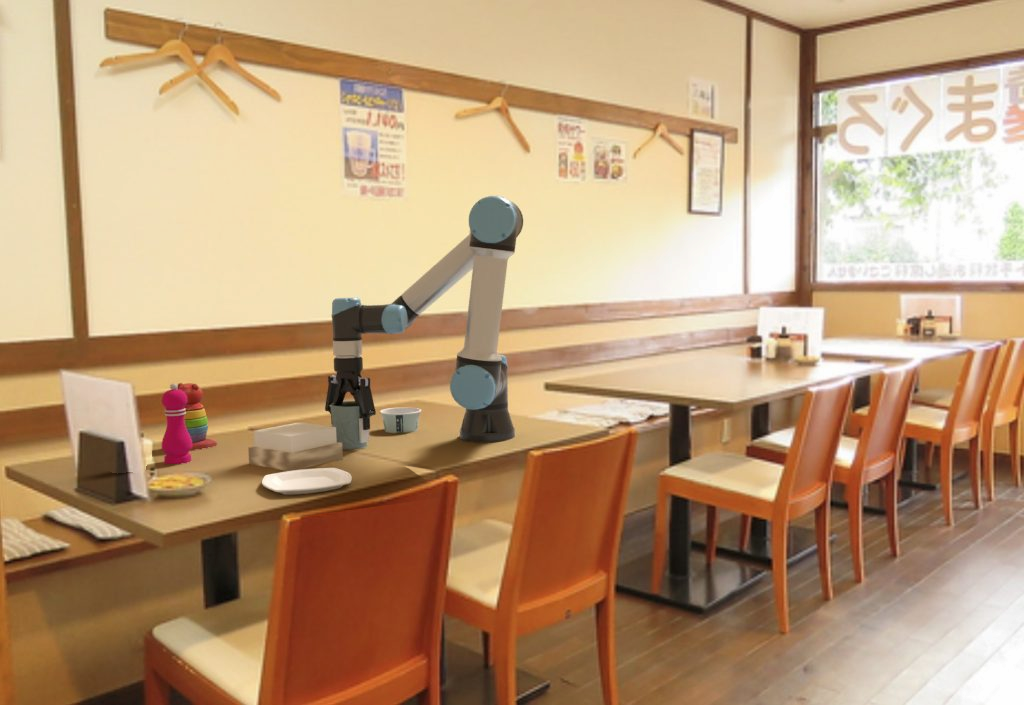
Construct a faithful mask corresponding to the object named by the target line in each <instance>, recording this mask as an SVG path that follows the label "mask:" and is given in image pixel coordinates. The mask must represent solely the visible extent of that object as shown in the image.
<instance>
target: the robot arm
mask: <svg viewBox="0 0 1024 705" xmlns="http://www.w3.org/2000/svg"><path fill="white" fill-rule="evenodd" d="M523 226H524V217H523V213H522V211H521V209H520V208H519V206H518V205H517V204H516V203H514V202H513V201H511V200H509V199H508V198H506V197H504V196H499V195H488V196H485V197H481V199H479V200H478V201H475V203H474V204H473V206H472V207H471V209H470V211H469V214H468V227H469V234H468V235H467V236H466V237H465V238H464V239H463V240H461V241H460V242H459V243H458V244H457V245H455V247H453V248H452V249H451V250H450V251H448V252H447V253H446V255H444V256H443V257H442V258H441V259H440V260H439V261H438V262H436V264H434V265H433V266H432V267H431V268H430V269H428V271H426V272H425V273H424V274H423V275H422V276H421V277H419V279H417V280H416V281H415V282H414V283H413V284H411V285H410V286H409V287H408V288H407V289H406V290H404V292H403V293H402V294H401V295H399V296H398V297H397V298H396V299H395V300H394V301H392V302H391V303H388V304H373V305H369V304H367V305H366V304H362V303H361V298H359V297H338V298H337V297H336V298H334V299H333V300H332V302H331V326H332V352H333V353H332V355H333V356H335V357H334V358H333V371H334V372H336V374H335V375H333V374H332V375H329V376H328V377H327V383H328V384H327V385H328V386H327V392H326V398H325V405H324V411H325V412H328V413H329V414H330V419H331V420H330V422H331V425H332V415H331V406H330V405H331V404H332V403H335V406H340V405H342V403H343V402H344V400H345V397H346V394H347V393H350V395H351V396H352V397H353V401H355V402H356V405H357V406H359V412H360V415H361V416H360V417H359V436H360V443H364V442H367V443H368V442H370V430H371V417H373V416H375V415H376V413H377V411H376V407H375V404H374V403H375V402H374V398H373V394H372V389H371V378H370V377H362V374H361V372H362V371H363V370H364V365H363V364H364V359H363V357H362V356H361V355H363V337H362V334H364V335H366V334H370V335H371V334H372V335H373V334H374V335H375V334H379V335H382V334H383V335H386V334H387V335H388V334H389V335H396V334H402V333H405V331H406V330H407V329H408V328H410V327H411V326H412V325H413V323H414V321H415V320H416V319H417V318H418V317H419V316H421V314H423V313H424V312H425V311H426V310H427V309H428V308H429V307H431V306H432V305H433V304H434V303H435V302H436V301H437V300H439V299H441V297H442V296H444V294H446V292H448V291H449V290H450V289H451V288H453V287H454V286H455V284H456V285H457V283H458V282H459V281H461V280H462V278H464V277H465V276H466V275H467V274H468V273H470V272H471V271H472V272H471V281H470V290H469V299H468V308H467V316H466V317H467V319H466V328H465V334H464V343H463V348H462V349H460V351H459V352H457V353H456V354H457V355H456V362H455V368H454V369H455V370H454V372H453V374H452V376H451V379H450V382H449V390H450V391H449V392H450V393H451V397H452V398H453V399H454V401H455V403H457V404H458V406H460V407H461V408H463V409H465V412H464V416H463V419H462V423H461V427H460V429H459V439H460V440H462V441H465V442H469V443H470V442H472V443H496V442H504V441H505V442H506V441H508V440H512V439H515V437H516V430H515V427H514V424H513V420H512V418H511V413H510V412H509V398H508V397H509V394H508V393H509V390H508V389H509V388H508V384H509V383H508V368H509V365H508V359H507V357H506V356H505V355H503V354H499V353H498V345H499V336H500V328H501V320H502V319H501V318H502V313H503V312H502V311H503V304H504V296H505V294H504V293H505V287H506V286H505V284H506V277H507V270H508V261H509V258H511V256H513V255H514V254H515V253H516V252H515V251H516V243H517V239H518V237H519V236H520V234H521V233H522V230H523ZM364 412H366V413H364Z"/></svg>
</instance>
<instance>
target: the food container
mask: <svg viewBox="0 0 1024 705" xmlns="http://www.w3.org/2000/svg"><path fill="white" fill-rule="evenodd" d="M421 412H422V409H421V408H417V407H407V406H406V407H403V406H402V407H400V406H399V407H391V408H384V409H381V410H380V411H379V414H381V417H382V424H383V428H384V432H386V433H389V434H404V433H411V432H416V431H418V430H419V424H420V423H419V421H420V413H421Z"/></svg>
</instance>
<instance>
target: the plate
mask: <svg viewBox="0 0 1024 705" xmlns="http://www.w3.org/2000/svg"><path fill="white" fill-rule="evenodd" d="M352 479H353V478H352V475H351V473H350V472H347V471H345V470H343V469H340V468H337V467H321V468H319V467H318V468H303V469H299V470H293V471H282V472H281V471H280V472H275V473H270V474H269V473H268V474H266V475H264V476H263V478H262V481H261V485H263V487H264V488H266V489H269V490H271V491H273V492H275V493H279V494H282V495H283V496H290V495H305V494H306V495H307V494H315V493H321V492H326V491H333V490H338V489H341V488H342V487H343V486H345V485H349V484H351V482H352Z"/></svg>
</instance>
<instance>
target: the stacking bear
mask: <svg viewBox="0 0 1024 705" xmlns="http://www.w3.org/2000/svg"><path fill="white" fill-rule="evenodd" d="M177 386H178V388H177V389H178V390H182V391H183V392H185V394H186V395H187V404H186V405H185V406H184V408H185V409H186V410H185V412H186V414H184V421H185V426H186V429H187V431H188V433H189V435H190V437H191V440H192V448H191V451H196V450H195V449H200V450H203V449H202V448H206V449H209V448H208V447H210V448H214V447H217V446H218V442H217V440H215V439H212V438H207V434H208V433H207V432H208V428H209V424H208V423H209V420H208V416H207V413H206V409H205V408H204V405H203V404H202V403H201V400H202V399H203V396H204V392H203V390H202V388H201V387H200V386H199V385H198V384H197V383H193V382H192V383H182V382H180V383H178V384H177ZM216 445H217V446H216ZM213 446H214V447H213Z"/></svg>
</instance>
